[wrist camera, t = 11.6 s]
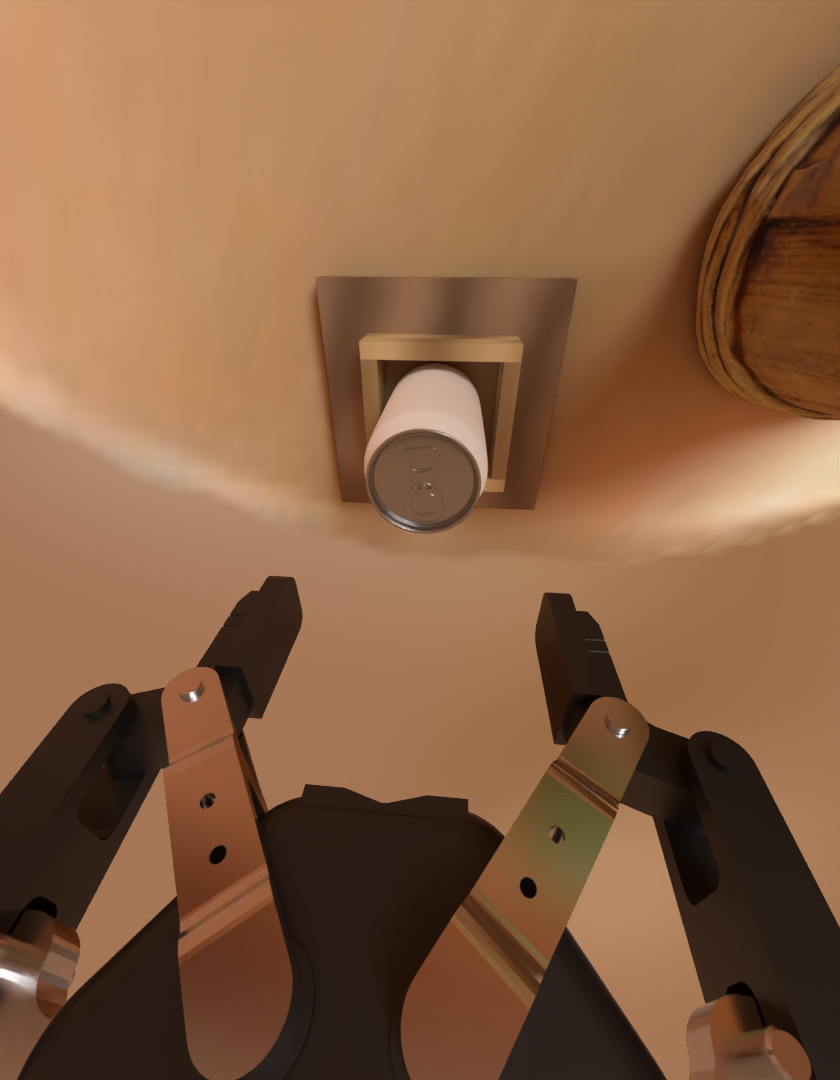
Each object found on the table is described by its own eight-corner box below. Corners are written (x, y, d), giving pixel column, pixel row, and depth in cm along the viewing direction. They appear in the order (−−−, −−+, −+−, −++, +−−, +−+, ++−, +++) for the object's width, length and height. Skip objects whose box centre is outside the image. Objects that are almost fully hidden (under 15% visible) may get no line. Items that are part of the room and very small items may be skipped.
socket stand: (571, 278, 26) (590, 282, 22) (531, 500, 35) (539, 529, 31) (322, 276, 27) (300, 280, 23) (346, 493, 36) (333, 520, 32)
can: (396, 453, 32) (367, 542, 22) (385, 364, 28) (345, 423, 18) (480, 449, 31) (489, 539, 21) (480, 357, 27) (491, 415, 18)
